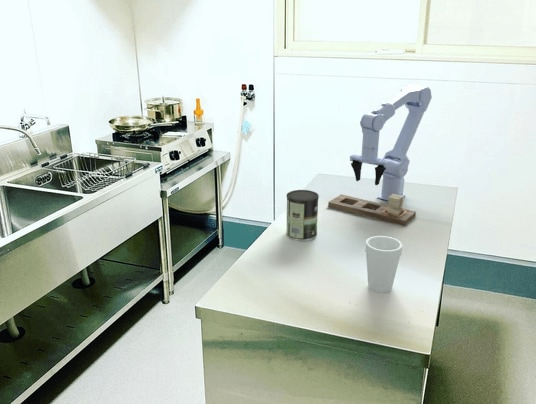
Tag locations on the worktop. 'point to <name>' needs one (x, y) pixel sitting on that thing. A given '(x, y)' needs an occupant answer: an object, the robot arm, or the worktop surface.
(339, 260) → the worktop surface
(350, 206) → the brown slotted board
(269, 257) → the worktop surface
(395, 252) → the foam cup
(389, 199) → the peg
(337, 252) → the worktop surface
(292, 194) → the coffee can
